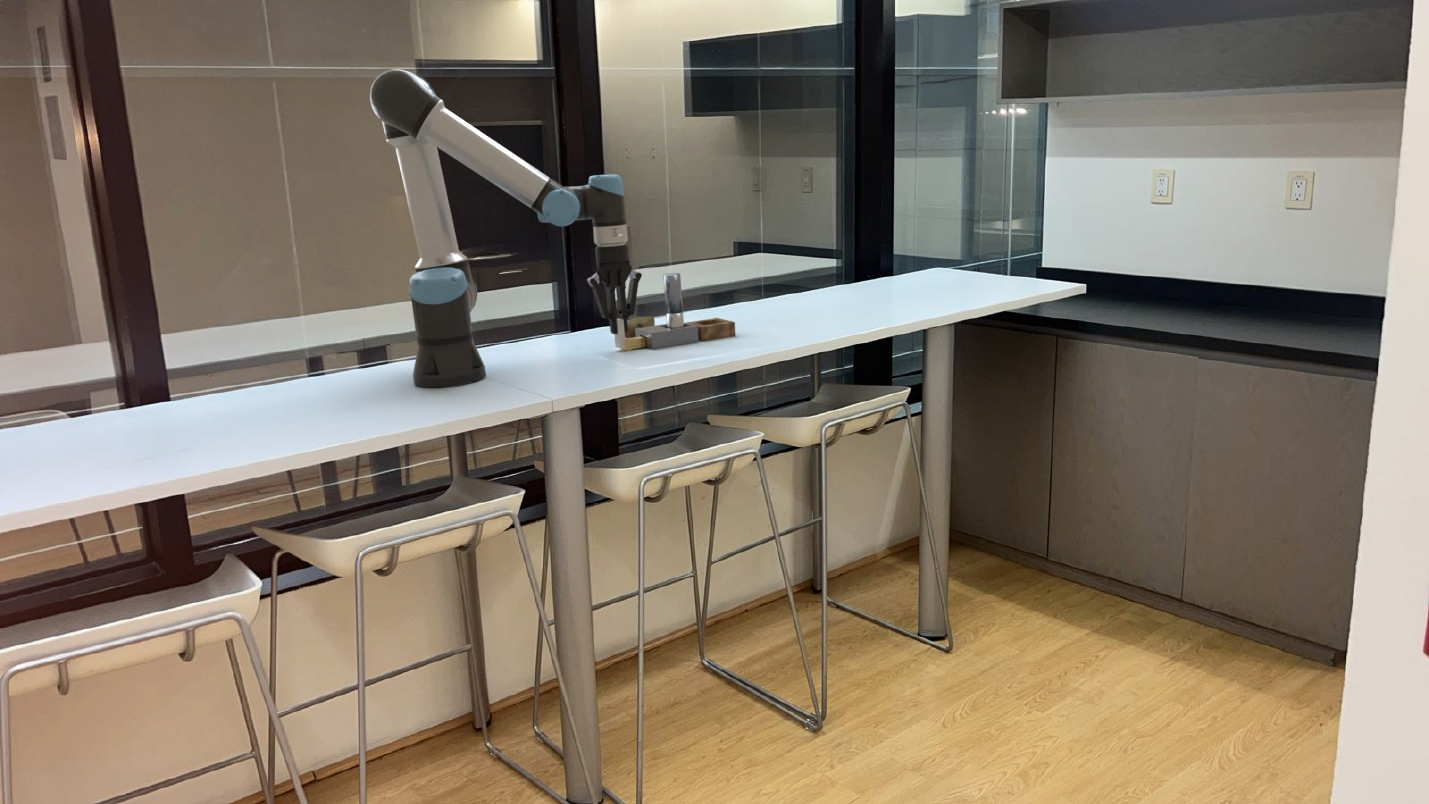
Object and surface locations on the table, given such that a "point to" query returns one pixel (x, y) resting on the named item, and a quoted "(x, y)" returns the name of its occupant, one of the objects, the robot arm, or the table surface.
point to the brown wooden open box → (714, 329)
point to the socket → (668, 335)
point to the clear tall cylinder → (673, 300)
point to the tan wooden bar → (635, 343)
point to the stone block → (638, 325)
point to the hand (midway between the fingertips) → (620, 347)
